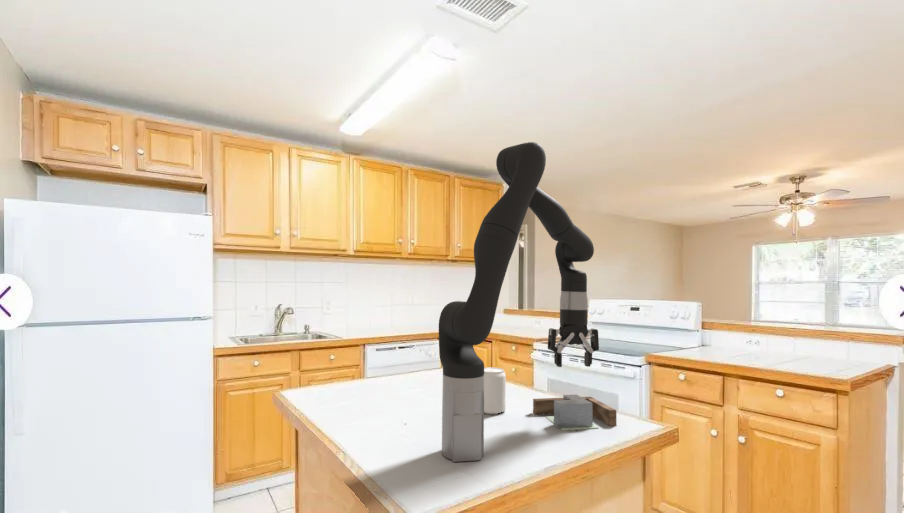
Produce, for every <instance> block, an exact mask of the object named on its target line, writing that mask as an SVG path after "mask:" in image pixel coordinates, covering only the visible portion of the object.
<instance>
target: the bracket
mask: <svg viewBox="0 0 904 513" xmlns="http://www.w3.org/2000/svg"><path fill="white" fill-rule="evenodd" d="M582 397H583V396H580V395H578V394H563V397H562V398H563V400H554V414H553V416H554V423H553V424H554V425H555V424H556V425H557V426H556V425H555V426H556V427H558V428H559V427H560V428H573V427H592V426H593V424H594V423H593V421H594V420H593V419H594V418H593V417H594V416H593V414H592V403H591V402H589V401H587V400H586V399H584V398H582ZM560 428H559V429H560Z"/></svg>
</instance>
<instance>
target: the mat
mask: <svg viewBox="0 0 904 513" xmlns="http://www.w3.org/2000/svg"><path fill="white" fill-rule="evenodd" d="M545 419H547V420H549V421H550V422H551V423H552V424H554V415H553V416H550V415H549V416H548V415H547V416H545ZM554 425H555V426H556V427H558V426H557V425H556V424H554ZM558 428H559V429H560V430H562V431H574V430H576V431H577V430H593V429H595V430H596V429H597V430H599V426H598V425H596V424H594V423H593V426H592V427H573V428H560V427H558Z"/></svg>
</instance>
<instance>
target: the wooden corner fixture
mask: <svg viewBox="0 0 904 513" xmlns="http://www.w3.org/2000/svg"><path fill="white" fill-rule="evenodd" d="M581 397H582V398H584V399H586V400H587V401H589V402H591V403H592V414H593V417H594V418H596V419H597V420H599V421H601V422H602V423H604V424H606V425H608V426H609V427H612V426H614V427H615V426H617V409H615V408H613V407H611V406H609V405H608V404H605V403H603V402H602V401H600V400H598V399H596V398H594V397H593V396H581ZM554 400H563V397H545V398H533V399H532V401H533V402H532V413H533V414H534V415H535V416H539V415H540V414H545V415H554ZM540 416H541V415H540Z"/></svg>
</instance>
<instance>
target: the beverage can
mask: <svg viewBox="0 0 904 513" xmlns="http://www.w3.org/2000/svg"><path fill="white" fill-rule="evenodd" d="M506 375H507V374H506V372H505V369H503V368H500V367H496V366H495V367H491V366H487V367H485V366H484V414H487V415H498V413H500V414H502V413H504V412H505V411H506V402H507V400H506V396H507V395H506V392H507V391H506V390H507V389H506V388H507V387H506V386H507V381H506V380H507V379H506V377H507V376H506ZM501 412H502V413H501Z"/></svg>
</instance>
